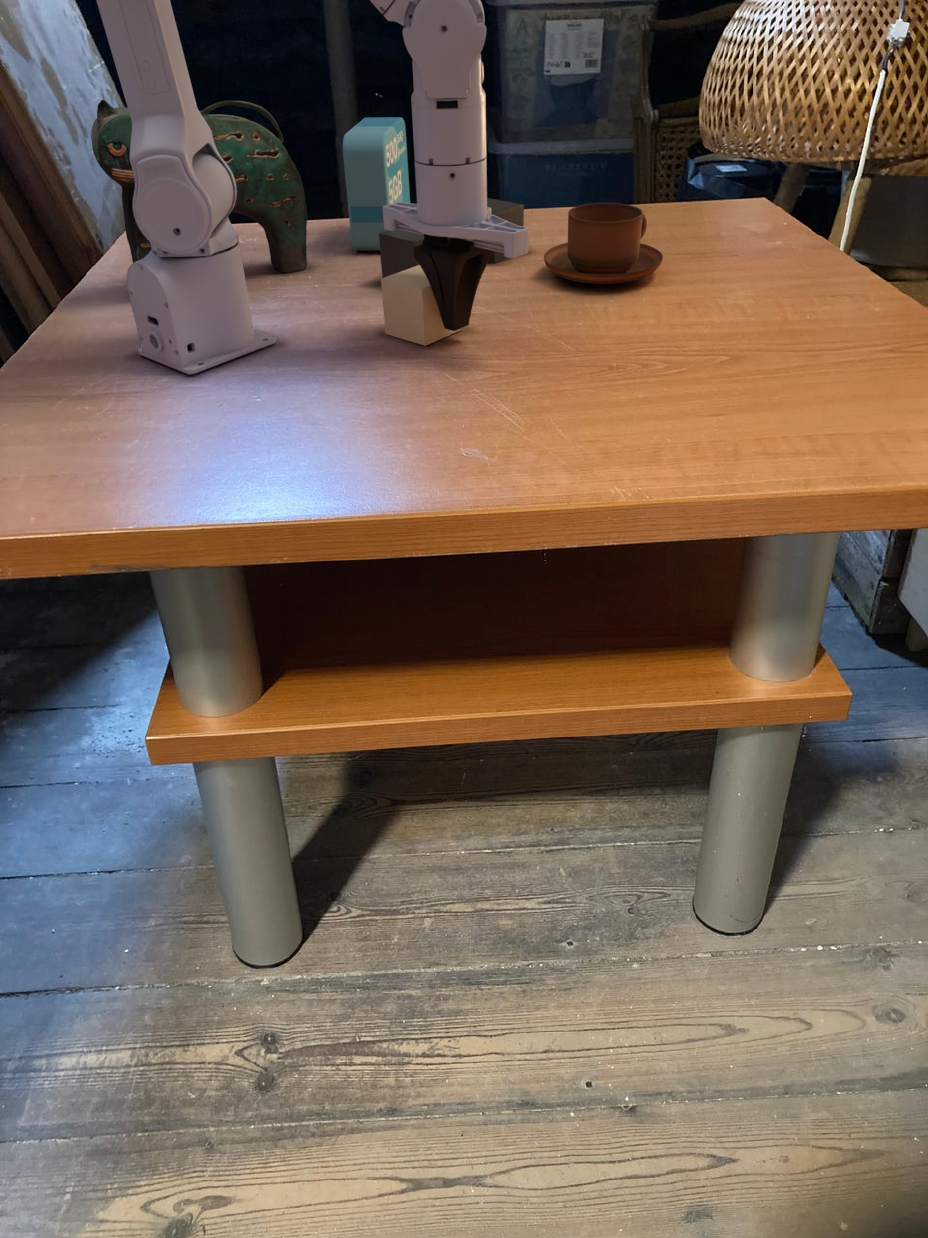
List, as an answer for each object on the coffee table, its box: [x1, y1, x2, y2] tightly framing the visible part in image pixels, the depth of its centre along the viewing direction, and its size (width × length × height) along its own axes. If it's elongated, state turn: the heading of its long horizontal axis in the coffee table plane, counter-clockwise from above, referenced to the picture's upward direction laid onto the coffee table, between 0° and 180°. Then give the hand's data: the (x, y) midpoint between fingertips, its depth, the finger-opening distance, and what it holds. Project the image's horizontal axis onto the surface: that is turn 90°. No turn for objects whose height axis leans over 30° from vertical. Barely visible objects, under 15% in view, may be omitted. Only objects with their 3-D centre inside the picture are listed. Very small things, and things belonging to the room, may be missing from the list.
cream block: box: [380, 265, 463, 347], centre depth 86 cm, size 5×5×5 cm
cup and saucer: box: [543, 202, 664, 285], centre depth 97 cm, size 12×12×6 cm
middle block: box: [379, 229, 424, 279], centre depth 98 cm, size 5×5×5 cm
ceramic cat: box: [90, 98, 308, 274], centre depth 95 cm, size 20×6×20 cm, turn 121°
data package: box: [342, 116, 411, 252], centre depth 108 cm, size 12×4×12 cm, turn 172°
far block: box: [487, 197, 525, 264], centre depth 105 cm, size 5×5×5 cm
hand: (456, 326), depth 84 cm, fingers closed
